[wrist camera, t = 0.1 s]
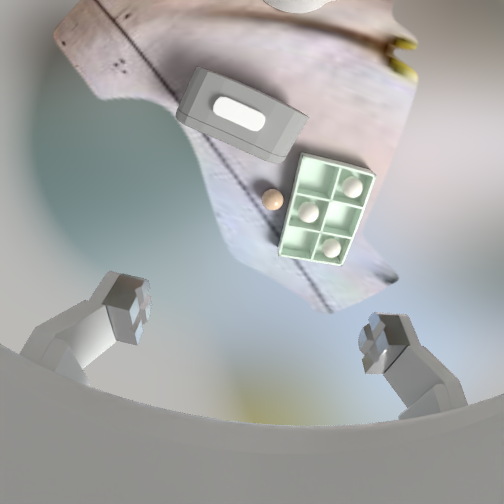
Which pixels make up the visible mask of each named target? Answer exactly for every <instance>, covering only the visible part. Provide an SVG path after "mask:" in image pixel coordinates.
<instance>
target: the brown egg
mask: <svg viewBox="0 0 504 504" xmlns="http://www.w3.org/2000/svg"><path fill="white" fill-rule="evenodd" d="M262 204H263V205H264V207H265V208H266V209H268V210H277V209H279V208H280V207H281V206H282V204H283V196H282V194H281V192H280V191H278V190H276V189H269V190H267V191H265V192H264V194H263V196H262Z"/></svg>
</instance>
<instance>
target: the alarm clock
mask: <svg viewBox="0 0 504 504" xmlns="http://www.w3.org/2000/svg"><path fill="white" fill-rule="evenodd" d="M176 118H177V120H178V121H180V122H181V123H183V124H184V125H186V126H188V127H191V128H193V129H195V130H198V131H200V132H202V133H204V134H207V135H209V136H211V137H214V138H216V139H218V140H221V141H223V142H225V143H227V144H230V145H232V146H234V147H236V148H238V149H241V150H243V151H245V152H247V153H249V154H251V155H254V156H256V157H258V158H260V159H263V160H265V161H268V162H271V163H275V164H279V163H282V162H283V161H284V160H285V158H286V156H287V154H288V153H289V151H290V149H291V148H292V146H293V144H294V142H295V141H296V139H297V137H298V135H299V134H300V132H301V130H302V129H303V127H304V125H305V123H306V122H307V120H308V118H309V117H308V116H307V115H305V114H304V113H302V112H300V111H298V110H297V109H295V108H293V107H291V106H289V105H287V104H285V103H284V102H282V101H280V100H278V99H276V98H274V97H272V96H269V95H267V94H265V93H263V92H261V91H259V90H257V89H254V88H252V87H250V86H248V85H246V84H243V83H241V82H239V81H236V80H234V79H231V78H229V77H226V76H224V75H221V74H219V73H216V72H213V71H210V70H208V69H205V68H201V67H196V69H195V71H194V73H193V76H192V78H191V80H190V82H189V84H188V86H187V88H186V91H185V93H184V95H183V97H182V100H181V102H180V104H179V107H178V109H177V112H176Z"/></svg>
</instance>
